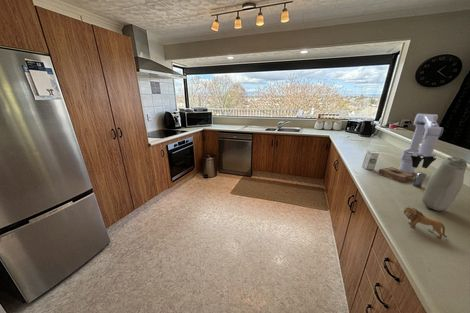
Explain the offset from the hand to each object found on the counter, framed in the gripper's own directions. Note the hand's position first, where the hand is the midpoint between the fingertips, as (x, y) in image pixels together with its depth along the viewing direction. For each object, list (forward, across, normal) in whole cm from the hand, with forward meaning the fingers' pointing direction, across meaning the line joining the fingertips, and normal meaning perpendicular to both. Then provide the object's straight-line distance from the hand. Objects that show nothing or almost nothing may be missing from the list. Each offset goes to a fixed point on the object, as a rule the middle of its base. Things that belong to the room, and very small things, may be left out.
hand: (419, 167), depth 107 cm
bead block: (+12, +4, +14) cm, 19 cm away
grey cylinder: (+13, +4, 0) cm, 13 cm away
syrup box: (+11, -4, +29) cm, 31 cm away
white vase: (+16, -14, -21) cm, 30 cm away
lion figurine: (+19, -39, -33) cm, 55 cm away
